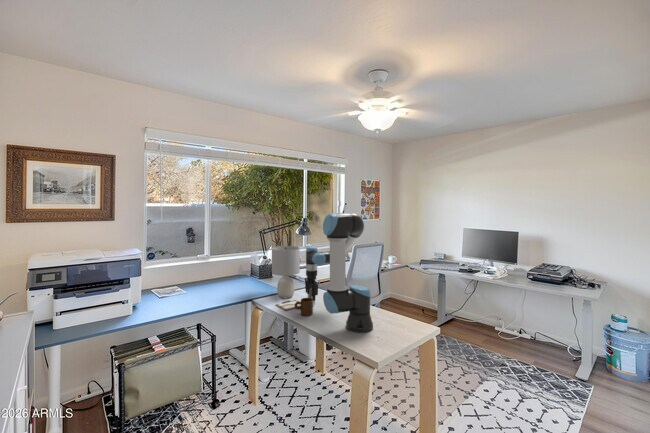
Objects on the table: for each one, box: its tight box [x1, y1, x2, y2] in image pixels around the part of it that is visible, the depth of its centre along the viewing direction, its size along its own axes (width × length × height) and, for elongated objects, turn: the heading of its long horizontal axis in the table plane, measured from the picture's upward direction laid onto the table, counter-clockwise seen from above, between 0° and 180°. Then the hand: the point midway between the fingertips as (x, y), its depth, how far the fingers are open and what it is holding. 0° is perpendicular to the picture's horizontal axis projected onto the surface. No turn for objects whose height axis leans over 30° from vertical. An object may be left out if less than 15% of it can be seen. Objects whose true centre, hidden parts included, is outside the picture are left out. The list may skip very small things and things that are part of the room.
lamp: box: [271, 245, 301, 299], centre depth 231 cm, size 20×20×37 cm
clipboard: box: [275, 299, 301, 312], centre depth 212 cm, size 13×16×1 cm
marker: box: [309, 288, 315, 308], centre depth 211 cm, size 3×3×12 cm
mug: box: [295, 297, 314, 317], centre depth 196 cm, size 12×8×9 cm, turn 121°
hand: (311, 304), depth 211 cm, fingers closed on marker, 3 cm apart
